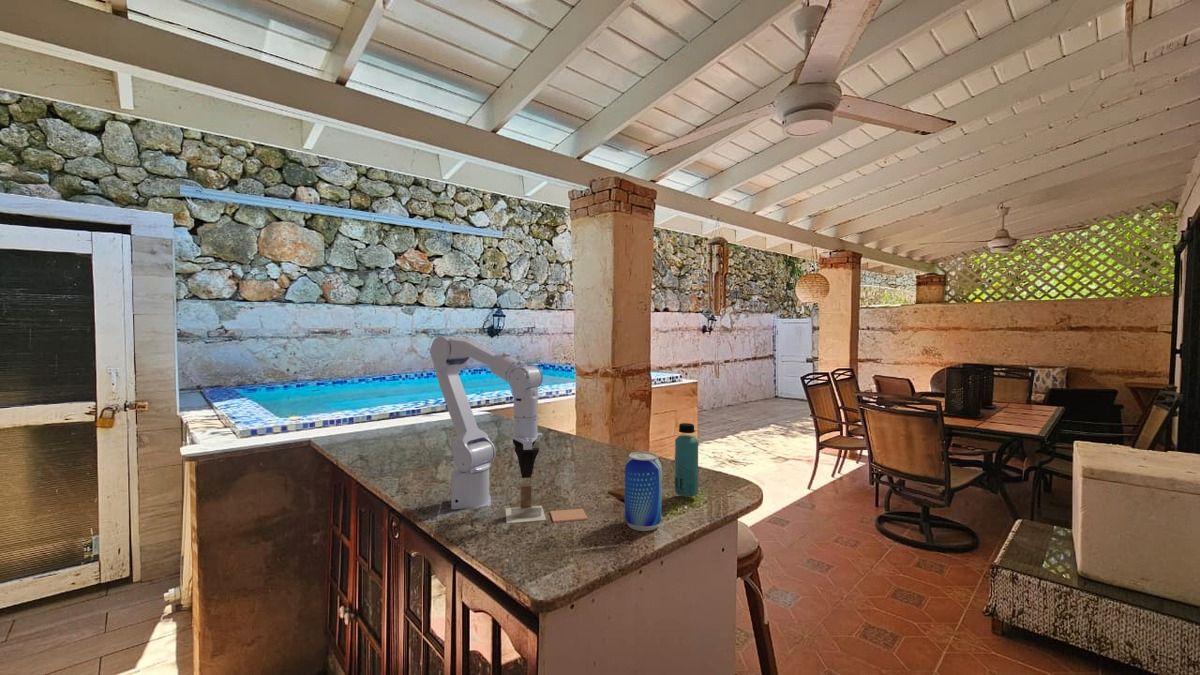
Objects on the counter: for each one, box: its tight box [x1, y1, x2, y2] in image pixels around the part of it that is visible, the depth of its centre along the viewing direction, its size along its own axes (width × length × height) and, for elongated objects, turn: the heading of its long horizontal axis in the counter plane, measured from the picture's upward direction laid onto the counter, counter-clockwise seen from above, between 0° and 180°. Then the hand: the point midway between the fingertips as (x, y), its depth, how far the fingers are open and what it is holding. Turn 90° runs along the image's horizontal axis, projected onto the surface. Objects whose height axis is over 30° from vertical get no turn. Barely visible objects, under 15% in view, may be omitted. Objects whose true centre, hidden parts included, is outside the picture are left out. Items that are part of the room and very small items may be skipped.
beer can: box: [624, 451, 663, 532], centre depth 106 cm, size 8×8×16 cm
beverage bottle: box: [673, 422, 700, 497], centre depth 124 cm, size 6×7×20 cm
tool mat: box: [505, 505, 547, 524], centre depth 111 cm, size 9×9×1 cm
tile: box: [549, 508, 588, 523], centre depth 110 cm, size 8×1×6 cm
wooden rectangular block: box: [511, 482, 542, 518], centre depth 110 cm, size 7×3×7 cm, turn 103°
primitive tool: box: [607, 487, 625, 502], centre depth 121 cm, size 19×6×4 cm, turn 27°
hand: (525, 472), depth 111 cm, fingers open, 7 cm apart
